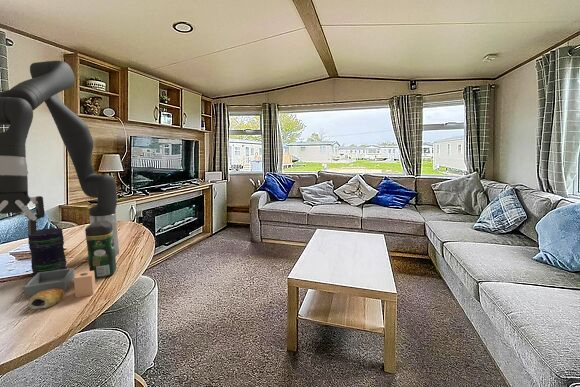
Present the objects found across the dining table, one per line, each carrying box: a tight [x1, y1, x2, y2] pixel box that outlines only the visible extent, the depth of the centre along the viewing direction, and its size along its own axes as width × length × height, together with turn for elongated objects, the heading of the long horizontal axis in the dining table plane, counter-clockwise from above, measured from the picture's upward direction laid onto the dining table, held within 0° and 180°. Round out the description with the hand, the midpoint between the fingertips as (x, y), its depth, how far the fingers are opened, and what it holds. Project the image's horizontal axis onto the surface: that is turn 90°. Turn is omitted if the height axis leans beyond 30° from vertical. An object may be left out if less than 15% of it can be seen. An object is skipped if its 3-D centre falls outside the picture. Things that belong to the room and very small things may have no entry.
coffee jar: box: [84, 221, 117, 279], centre depth 110 cm, size 10×8×19 cm
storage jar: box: [27, 227, 68, 277], centre depth 112 cm, size 10×10×15 cm
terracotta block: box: [73, 271, 97, 298], centre depth 96 cm, size 4×4×6 cm
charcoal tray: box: [23, 267, 75, 298], centre depth 101 cm, size 12×10×3 cm
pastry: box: [26, 288, 65, 310], centre depth 91 cm, size 9×7×4 cm
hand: (10, 236), depth 82 cm, fingers open, 8 cm apart
